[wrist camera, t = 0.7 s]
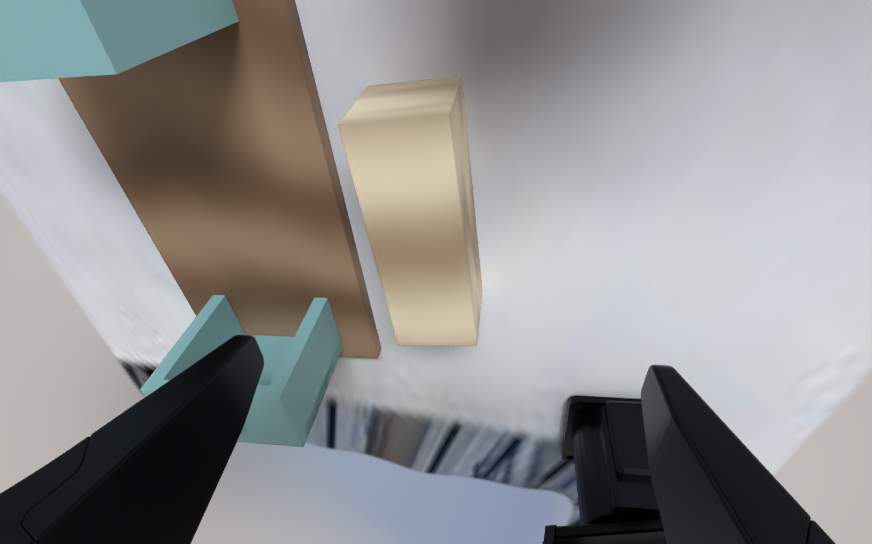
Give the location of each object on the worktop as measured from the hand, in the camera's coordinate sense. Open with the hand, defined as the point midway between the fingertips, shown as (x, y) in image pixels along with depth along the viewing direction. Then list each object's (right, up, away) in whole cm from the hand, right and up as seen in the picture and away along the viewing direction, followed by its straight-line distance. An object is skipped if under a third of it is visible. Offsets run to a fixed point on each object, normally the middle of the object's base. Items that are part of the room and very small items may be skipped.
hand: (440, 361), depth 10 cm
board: (-9, +6, +10) cm, 15 cm away
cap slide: (-9, -1, +14) cm, 17 cm away
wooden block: (0, +5, +10) cm, 11 cm away
